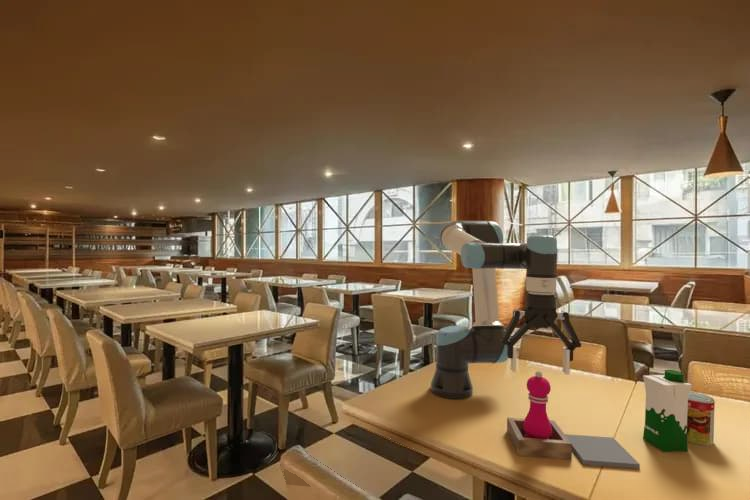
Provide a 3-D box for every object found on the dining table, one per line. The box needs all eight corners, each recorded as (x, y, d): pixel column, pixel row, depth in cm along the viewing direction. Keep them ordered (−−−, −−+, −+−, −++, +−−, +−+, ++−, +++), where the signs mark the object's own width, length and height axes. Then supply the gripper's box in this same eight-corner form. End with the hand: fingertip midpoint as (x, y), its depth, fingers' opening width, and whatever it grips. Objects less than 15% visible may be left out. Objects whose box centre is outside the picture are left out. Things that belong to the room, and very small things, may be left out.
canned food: (675, 429, 115) (676, 389, 115) (709, 436, 111) (711, 394, 111) (679, 440, 108) (681, 398, 108) (716, 448, 104) (718, 404, 104)
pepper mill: (554, 453, 100) (556, 376, 100) (525, 449, 102) (527, 374, 102) (548, 439, 108) (549, 368, 107) (520, 436, 109) (522, 366, 109)
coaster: (583, 464, 95) (583, 459, 95) (563, 438, 108) (563, 434, 108) (639, 469, 94) (639, 464, 94) (612, 441, 107) (613, 437, 107)
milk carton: (694, 452, 102) (696, 377, 101) (662, 453, 101) (664, 378, 101) (666, 436, 110) (668, 366, 110) (636, 437, 110) (638, 367, 109)
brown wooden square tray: (518, 455, 99) (518, 440, 99) (506, 431, 112) (507, 417, 112) (571, 459, 98) (572, 443, 97) (553, 434, 110) (554, 420, 110)
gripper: (496, 293, 102) (494, 373, 102) (596, 296, 99) (594, 378, 99) (490, 290, 109) (489, 365, 109) (583, 292, 106) (582, 369, 106)
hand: (539, 371), depth 104 cm, fingers open, 13 cm apart
